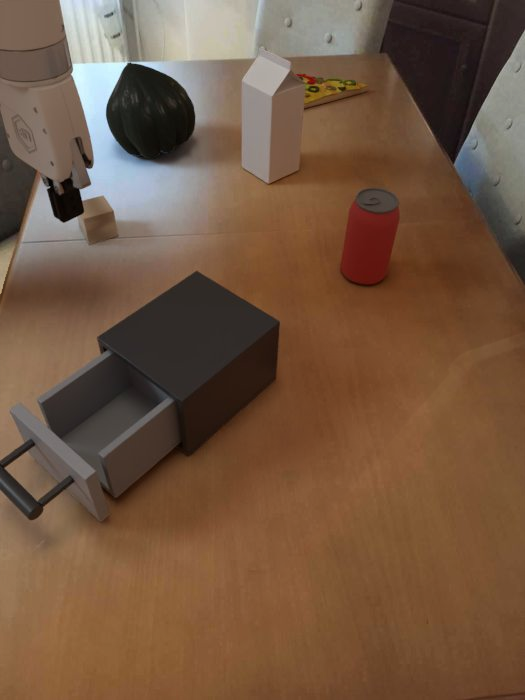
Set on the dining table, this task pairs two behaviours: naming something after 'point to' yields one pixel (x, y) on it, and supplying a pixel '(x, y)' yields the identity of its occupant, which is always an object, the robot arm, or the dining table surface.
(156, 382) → the cabinet
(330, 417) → the dining table surface
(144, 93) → the squash
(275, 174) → the milk carton
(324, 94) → the pizza slice
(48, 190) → the robot arm
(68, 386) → the drawer
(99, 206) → the block
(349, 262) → the beer can
